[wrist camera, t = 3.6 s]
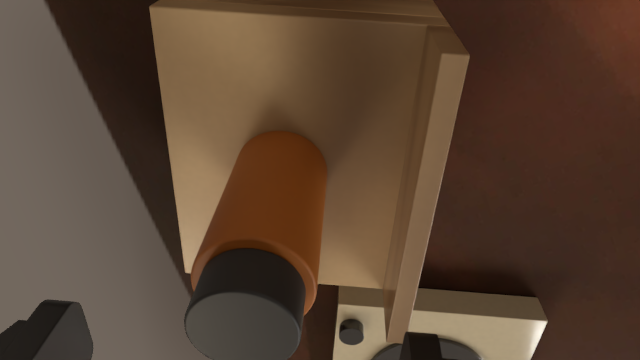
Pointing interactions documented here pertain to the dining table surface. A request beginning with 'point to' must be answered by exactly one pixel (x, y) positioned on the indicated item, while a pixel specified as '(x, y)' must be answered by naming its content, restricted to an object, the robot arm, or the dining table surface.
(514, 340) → the hot plate
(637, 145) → the dining table surface
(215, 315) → the spice bottle
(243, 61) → the shelf
